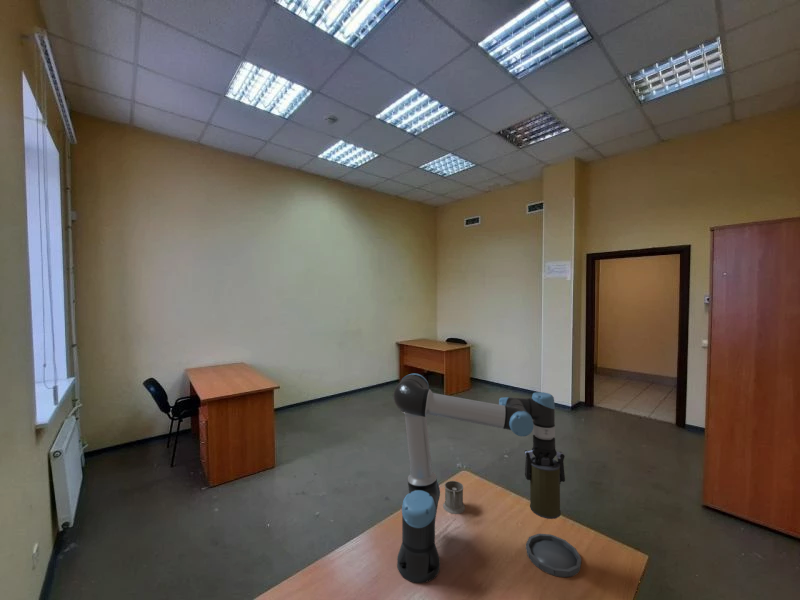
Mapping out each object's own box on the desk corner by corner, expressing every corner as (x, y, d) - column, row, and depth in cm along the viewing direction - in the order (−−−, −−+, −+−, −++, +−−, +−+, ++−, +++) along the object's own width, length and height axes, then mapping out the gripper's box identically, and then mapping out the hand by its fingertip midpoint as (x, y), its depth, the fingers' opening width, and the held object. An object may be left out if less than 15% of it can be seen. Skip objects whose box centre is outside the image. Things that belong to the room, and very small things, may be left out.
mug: (443, 499, 156) (443, 474, 156) (464, 501, 155) (464, 475, 155) (442, 519, 142) (443, 491, 142) (466, 521, 141) (466, 493, 141)
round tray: (534, 574, 114) (534, 568, 114) (521, 537, 132) (521, 532, 132) (589, 579, 112) (589, 573, 112) (568, 541, 129) (568, 536, 129)
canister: (564, 521, 115) (563, 463, 115) (532, 517, 117) (531, 460, 117) (556, 502, 125) (555, 449, 125) (527, 499, 127) (526, 447, 128)
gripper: (519, 439, 119) (520, 503, 119) (575, 441, 116) (576, 506, 116) (514, 431, 126) (515, 491, 126) (567, 432, 124) (568, 494, 124)
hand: (544, 498), depth 121 cm, fingers open, 6 cm apart
